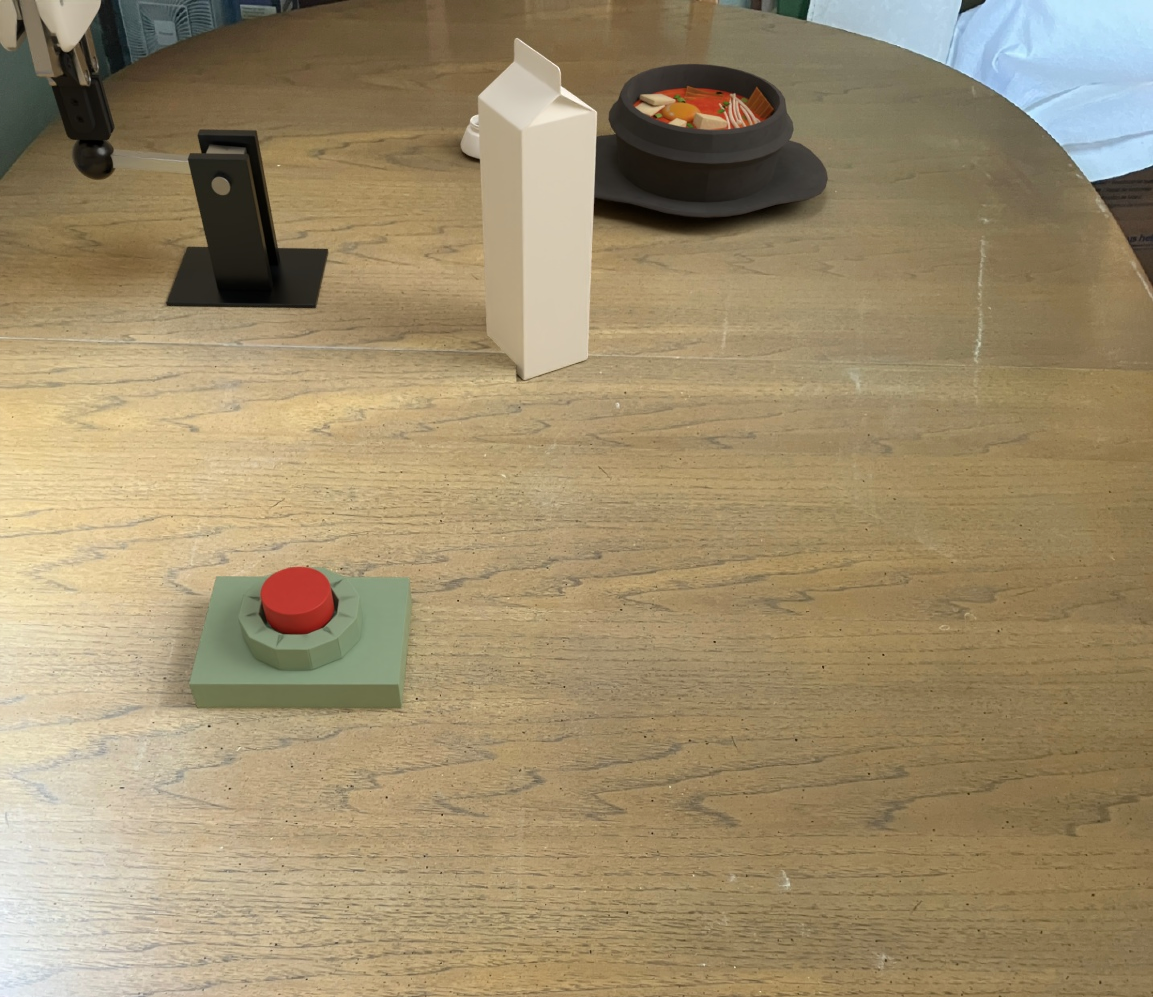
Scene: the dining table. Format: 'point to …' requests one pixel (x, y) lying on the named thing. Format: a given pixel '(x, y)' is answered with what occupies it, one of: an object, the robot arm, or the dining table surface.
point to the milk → (537, 214)
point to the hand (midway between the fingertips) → (91, 134)
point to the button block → (305, 648)
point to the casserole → (703, 145)
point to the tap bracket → (241, 236)
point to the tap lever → (132, 159)
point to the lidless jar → (471, 138)
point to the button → (297, 600)
